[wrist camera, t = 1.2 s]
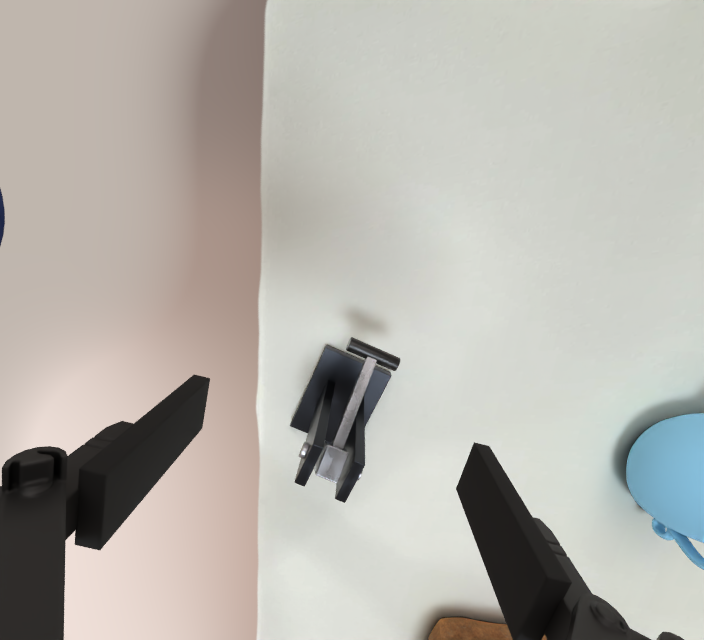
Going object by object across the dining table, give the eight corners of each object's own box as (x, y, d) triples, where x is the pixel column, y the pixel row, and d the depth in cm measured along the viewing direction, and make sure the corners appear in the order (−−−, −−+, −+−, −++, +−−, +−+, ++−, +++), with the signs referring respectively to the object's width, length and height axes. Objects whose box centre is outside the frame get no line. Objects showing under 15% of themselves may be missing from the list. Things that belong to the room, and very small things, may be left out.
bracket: (326, 344, 42) (308, 399, 28) (390, 372, 43) (404, 439, 29) (291, 420, 45) (259, 506, 31) (352, 446, 46) (347, 541, 31)
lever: (349, 338, 35) (353, 335, 33) (396, 359, 36) (403, 357, 33) (297, 462, 32) (298, 467, 30) (350, 483, 32) (354, 490, 30)
